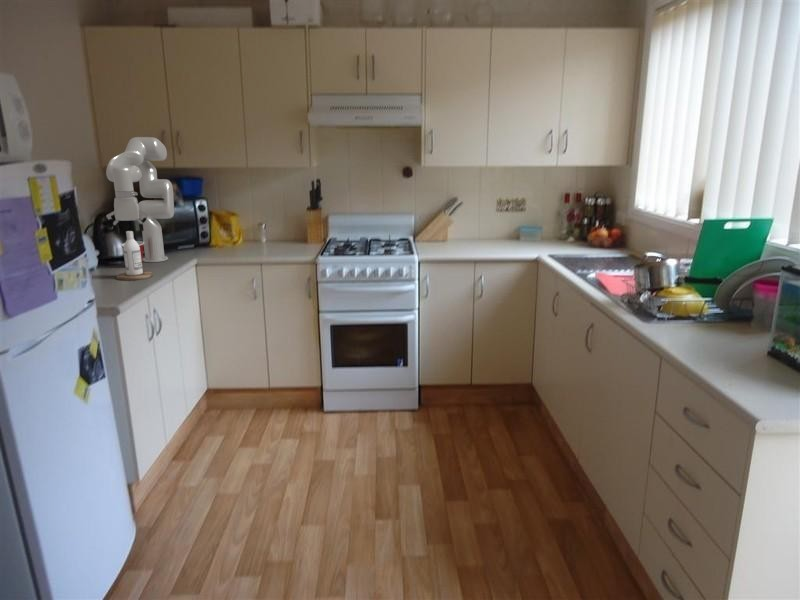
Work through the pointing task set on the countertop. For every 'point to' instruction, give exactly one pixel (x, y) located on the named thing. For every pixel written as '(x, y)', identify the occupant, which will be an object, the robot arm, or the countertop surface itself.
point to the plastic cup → (139, 246)
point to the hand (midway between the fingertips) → (129, 232)
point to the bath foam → (132, 255)
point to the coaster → (134, 276)
